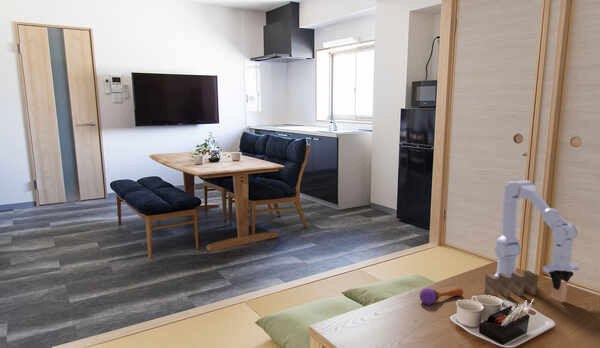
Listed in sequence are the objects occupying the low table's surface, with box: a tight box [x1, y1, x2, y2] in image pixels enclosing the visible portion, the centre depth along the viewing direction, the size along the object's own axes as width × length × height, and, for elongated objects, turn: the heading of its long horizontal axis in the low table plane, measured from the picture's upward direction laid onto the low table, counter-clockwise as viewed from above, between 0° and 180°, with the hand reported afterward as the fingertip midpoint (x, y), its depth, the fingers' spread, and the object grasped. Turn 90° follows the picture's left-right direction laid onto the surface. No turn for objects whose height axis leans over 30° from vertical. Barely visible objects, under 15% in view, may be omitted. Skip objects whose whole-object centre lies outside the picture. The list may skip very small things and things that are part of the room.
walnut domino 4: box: [523, 270, 539, 295], centre depth 169 cm, size 2×5×8 cm, turn 11°
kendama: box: [419, 286, 464, 306], centre depth 161 cm, size 6×6×20 cm
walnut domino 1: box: [483, 273, 498, 298], centre depth 165 cm, size 2×5×8 cm, turn 11°
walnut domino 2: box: [497, 273, 512, 298], centre depth 166 cm, size 2×5×8 cm, turn 11°
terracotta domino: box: [550, 280, 568, 303], centre depth 162 cm, size 2×5×8 cm, turn 11°
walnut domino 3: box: [510, 271, 525, 297], centre depth 167 cm, size 2×5×8 cm, turn 11°
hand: (558, 288), depth 162 cm, fingers closed on terracotta domino, 2 cm apart
